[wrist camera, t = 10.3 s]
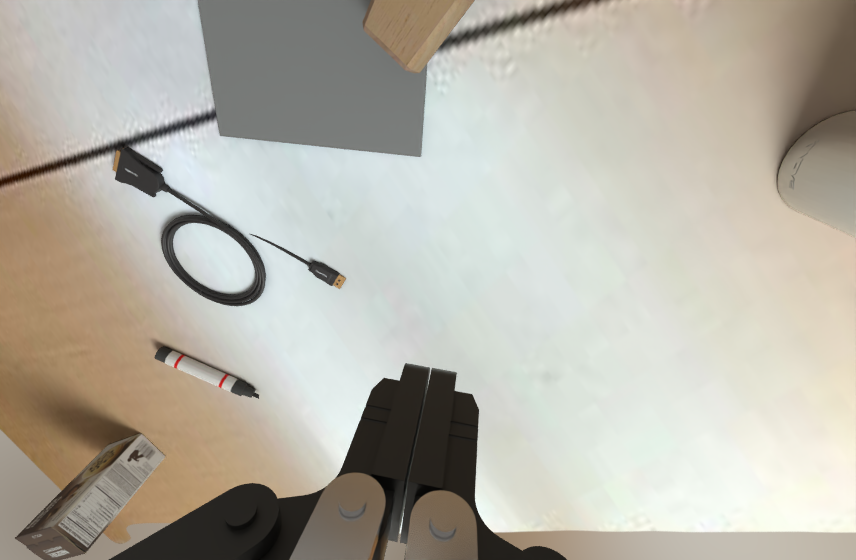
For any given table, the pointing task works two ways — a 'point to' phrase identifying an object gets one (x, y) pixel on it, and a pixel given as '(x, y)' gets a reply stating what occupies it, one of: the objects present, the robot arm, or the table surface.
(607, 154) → the table surface
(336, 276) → the cable
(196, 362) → the marker
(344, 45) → the mat
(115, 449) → the coffee box
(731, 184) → the table surface
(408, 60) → the decorative block
